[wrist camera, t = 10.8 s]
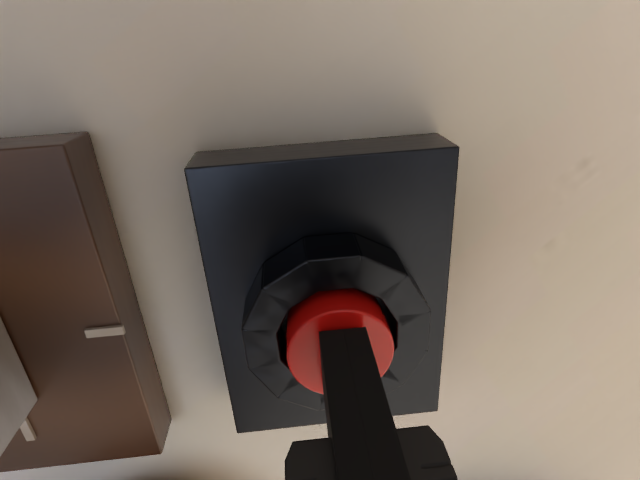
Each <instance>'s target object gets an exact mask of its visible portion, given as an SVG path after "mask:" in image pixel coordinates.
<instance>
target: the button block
mask: <svg viewBox="0 0 640 480" xmlns="http://www.w3.org/2000/svg"><path fill="white" fill-rule="evenodd" d="M458 157H459V146H457V145H456V144H454V143H452V142H451V141H449V140H448V139H446V138H444V137H443V136H441V135H440V134H438V133H433V134H420V135H407V136H394V137H381V138H369V139H356V140H343V141H330V142H317V143H304V144H292V145H279V146H266V147H253V148H240V149H228V150H215V151H202V152H196V153H195V154H194V156H193V157H192V159H191V160H190V161H189V163H188V164H187V166H186V167H185V168H184V172H185V176H186V181H187V186H188V191H189V196H190V201H191V206H192V211H193V216H194V221H195V226H196V231H197V236H198V241H199V246H200V251H201V256H202V261H203V266H204V271H205V276H206V281H207V286H208V291H209V296H210V301H211V306H212V311H213V316H214V321H215V326H216V330H217V335H218V340H219V345H220V350H221V355H222V360H223V365H224V370H225V375H226V380H227V385H228V390H229V395H230V400H231V405H232V410H233V415H234V420H235V425H236V430H237V433H244V432H253V431H262V430H271V429H280V428H289V427H298V426H307V425H316V424H324V423H327V421H326V412H325V404H324V395H323V394H320V393H317V392H314V391H311V390H310V389H308V388H306V387H304V386H303V385H301V384H300V383H299V382H298V381H297V380H296V379H295V377H294V376H293V375H292V373H291V371H290V369H289V367H288V363H287V352H286V320H287V316H288V313H289V311H290V309H291V308H292V307H294V306H295V305H297V304H299V303H300V302H302V301H304V300H305V299H307V298H309V297H310V296H312V295H314V294H315V293H317V292H319V291H330V290H340V289H351V288H354V289H356V290H359V291H362V292H364V293H367V294H369V295H372V296H374V297H375V298H376V299H377V300H378V302H379V304H380V305H381V308H382V310H383V313H384V315H385V318H386V321H387V323H388V326H389V329H390V331H391V334H392V337H393V341H394V355H393V359H392V362H391V364H390V366H389V368H388V370H387V371H386V372H385V374H384V375H383V376H382V377H381V380H382V383H383V387H384V390H385V393H386V397H387V400H388V404H389V407H390V410H391V414H392V416H396V415H405V414H414V413H423V412H432V411H437V410H438V399H439V387H440V374H441V362H442V350H443V338H444V326H445V314H446V302H447V290H448V278H449V266H450V254H451V242H452V230H453V218H454V206H455V193H456V181H457V169H458Z"/></svg>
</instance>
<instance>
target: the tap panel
mask: <svg viewBox="0 0 640 480" xmlns="http://www.w3.org/2000/svg"><path fill="white" fill-rule="evenodd" d="M0 317H1V319H2V321H3V324H4V326H5V328H6V330H7V333H8V335H9V337H10V339H11V341H12V344H13V346H14V348H15V350H16V352H17V355H18V357H19V359H20V361H21V363H22V366H23V368H24V370H25V372H26V374H27V377H28V379H29V381H30V383H31V386H32V388H33V390H34V392H35V394H36V397H37V402H36V403H35V405H34V407H33V408H32V410H31V411H30V413H29V414H28V416H27V417H26V419H25V420H24V422H23V423H22V425H21V426H20V428H19V429H18V431H17V432H16V434H15V435H14V437H13V438H12V440H11V441H10V443H9V444H8V446H7V447H6V449H5V450H4V452H3V453H2V455H1V456H0V472H7V471H15V470H24V469H33V468H42V467H51V466H59V465H68V464H77V463H86V462H95V461H103V460H112V459H121V458H130V457H139V456H148V455H156V454H161V453H162V451H163V447H164V444H165V440H166V437H167V433H168V429H169V426H170V422H171V416H170V413H169V409H168V406H167V402H166V399H165V395H164V392H163V388H162V385H161V381H160V378H159V375H158V371H157V368H156V364H155V361H154V357H153V354H152V350H151V347H150V343H149V340H148V337H147V333H146V330H145V326H144V323H143V319H142V316H141V312H140V309H139V305H138V302H137V299H136V295H135V292H134V288H133V285H132V281H131V278H130V274H129V271H128V268H127V264H126V261H125V257H124V254H123V250H122V247H121V243H120V240H119V236H118V233H117V230H116V226H115V223H114V219H113V216H112V212H111V209H110V205H109V202H108V198H107V195H106V192H105V188H104V185H103V181H102V178H101V174H100V171H99V167H98V164H97V160H96V157H95V154H94V150H93V147H92V143H91V140H90V136H89V133H88V132H78V133H65V134H51V135H38V136H24V137H11V138H0Z"/></svg>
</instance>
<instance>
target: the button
mask: <svg viewBox="0 0 640 480" xmlns="http://www.w3.org/2000/svg"><path fill="white" fill-rule="evenodd" d="M359 327H366V329H367V332H368V336H369V339H370V343H371V346H372V349H373V353H374V356H375V359H376V363H377V366H378V370H379V373H380V376H381V377H382V376H383V375H384V374H385V372H386V371H387V370H388V368H389V366H390V364H391V362H392V359H393V355H394V341H393V337H392V334H391V331H390V329H389V326H388V323H387V321H386V318H385V315H384V313H383V310H382V308H381V305H380V304H379V302H378V300H377V299H376V298H375V297H374V296H372V295H369V294H367V293H364V292H362V291H359V290H356V289H354V288H351V289H340V290H330V291H319V292H317V293H315V294H314V295H312V296H310V297H309V298H307V299H305V300H304V301H302V302H300V303H299V304H297V305H295V306H294V307H292V308H291V309H290V311H289V313H288V316H287V320H286V352H287V363H288V367H289V369H290V371H291V373H292V375H293V376H294V377H295V379H296V380H297V381H298V382H299V383H300V384H301V385H303V386H304V387H306V388H308V389H310V390H311V391H314V392H317V393H320V394H323V382H322V368H321V355H320V341H319V331H328V330H338V329H349V328H359Z"/></svg>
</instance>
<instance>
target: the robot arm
mask: <svg viewBox="0 0 640 480" xmlns="http://www.w3.org/2000/svg"><path fill="white" fill-rule="evenodd" d="M319 341H320V355H321V368H322V382H323V395H324V404H325V412H326V421H327V429H328V437H329V438H321V439H312V440H303V441H294V442H292V445H291V447H290V450H289V452H288V454H287V457H286V459H285V480H457V476H456V473H455V471H454V468H453V466H452V465H451V461H450V458H449V456H448V453H447V451H446V448H445V446H444V443H443V441H442V440H441V439H440V438H439V437H438V436H437V435H436V433H435V432H434V431H433V430H432V429H431V428H430V427H429V426H428V425H427V426H418V427H409V428H400V429H396V427H395V424H394V421H393V417H392V414H391V410H390V407H389V404H388V400H387V397H386V393H385V390H384V387H383V383H382V380H381V376H380V373H379V370H378V366H377V363H376V359H375V356H374V353H373V349H372V346H371V343H370V339H369V336H368V332H367V329H366V327H359V328H349V329H338V330H328V331H319Z"/></svg>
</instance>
